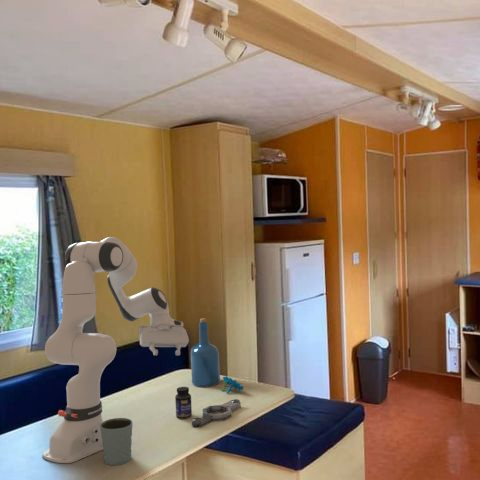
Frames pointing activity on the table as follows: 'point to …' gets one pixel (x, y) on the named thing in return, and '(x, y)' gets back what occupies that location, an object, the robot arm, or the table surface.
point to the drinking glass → (116, 440)
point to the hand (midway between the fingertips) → (167, 354)
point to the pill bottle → (183, 403)
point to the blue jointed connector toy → (231, 384)
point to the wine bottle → (204, 359)
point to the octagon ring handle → (209, 418)
